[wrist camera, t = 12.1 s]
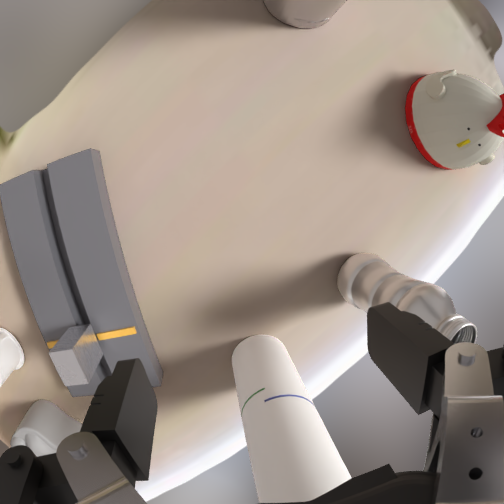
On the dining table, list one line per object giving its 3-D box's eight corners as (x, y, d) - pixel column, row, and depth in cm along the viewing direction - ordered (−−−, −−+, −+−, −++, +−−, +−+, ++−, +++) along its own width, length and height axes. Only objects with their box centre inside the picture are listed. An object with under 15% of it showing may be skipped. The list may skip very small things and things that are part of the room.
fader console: (11, 184, 30) (-3, 185, 27) (99, 150, 31) (89, 148, 28) (78, 384, 37) (71, 398, 34) (163, 372, 38) (160, 387, 35)
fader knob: (77, 317, 34) (48, 352, 25) (98, 313, 34) (72, 349, 25) (89, 346, 35) (64, 386, 26) (109, 342, 35) (88, 383, 26)
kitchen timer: (388, 117, 35) (469, 95, 21) (429, 58, 34) (501, 29, 20) (449, 189, 39) (530, 198, 24) (482, 127, 38) (555, 121, 23)
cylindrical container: (291, 372, 41) (365, 525, 16) (239, 387, 40) (277, 553, 16) (280, 327, 39) (367, 487, 15) (224, 343, 38) (256, 522, 14)
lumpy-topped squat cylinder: (94, 432, 39) (81, 470, 30) (65, 461, 40) (53, 495, 31) (39, 391, 36) (17, 426, 28) (17, 427, 37) (-1, 458, 29)
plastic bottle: (385, 278, 40) (493, 343, 20) (344, 308, 40) (437, 396, 20) (365, 238, 38) (483, 286, 19) (322, 269, 38) (420, 346, 19)
